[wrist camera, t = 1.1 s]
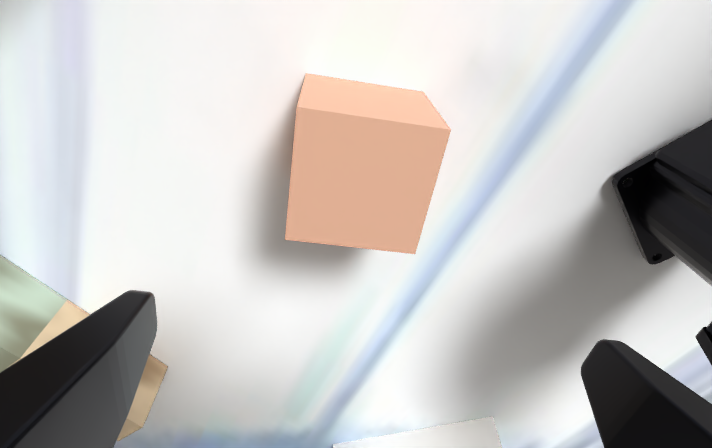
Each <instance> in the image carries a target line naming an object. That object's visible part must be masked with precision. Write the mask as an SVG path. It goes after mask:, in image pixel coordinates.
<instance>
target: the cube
mask: <svg viewBox="0 0 712 448" xmlns="http://www.w3.org/2000/svg"><path fill="white" fill-rule="evenodd" d="M450 131H451V129H450V128H449V126H448V125H447V124H446V122H445V121H444V119H443V118H442V117H441V115H440V114H439V113H438V111H437V110H436V109H435V107H434V106H433V104H432V103H431V102H430V100H429V99H428V98H427V96H426V95H425V93H424V92H421V91H415V90H408V89H402V88H396V87H389V86H383V85H377V84H370V83H364V82H358V81H351V80H345V79H339V78H333V77H326V76H320V75H314V74H307V73H306V75H305V79H304V82H303V86H302V90H301V93H300V97H299V100H298V104H297V109H296V120H295V131H294V142H293V154H292V165H291V176H290V188H289V199H288V210H287V221H286V233H285V240H292V241H301V242H310V243H319V244H328V245H337V246H346V247H356V248H365V249H374V250H383V251H392V252H401V253H410V254H415V252H416V249H417V245H418V242H419V239H420V235H421V232H422V228H423V225H424V221H425V218H426V214H427V211H428V207H429V204H430V201H431V197H432V194H433V190H434V187H435V183H436V180H437V176H438V173H439V169H440V166H441V162H442V159H443V156H444V152H445V149H446V145H447V142H448V138H449V135H450Z"/></svg>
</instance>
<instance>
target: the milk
mask: <svg viewBox="0 0 712 448" xmlns="http://www.w3.org/2000/svg"><path fill="white" fill-rule="evenodd" d="M333 448H502V445H501V442H500V439H499V435H498V432H497V429H496V425H495V422H494V419H493V416H491V417H485V418H480V419H474V420H468V421H463V422H457V423H451V424H446V425H440V426H434V427H429V428H423V429H417V430H412V431H406V432H400V433H395V434H389V435H383V436H378V437H372V438H366V439H361V440H355V441H349V442H343V443H338V444H333Z"/></svg>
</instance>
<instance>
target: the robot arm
mask: <svg viewBox="0 0 712 448" xmlns="http://www.w3.org/2000/svg"><path fill="white" fill-rule="evenodd" d="M627 178H628V180H627V181H626V182H625V183H623V181H624V180H625V179H627ZM622 183H623V184H622ZM612 184H613V187H614V189H615V192H616V194H617V197H618V199H619V201H620V204H621V206H622V208H623V211H624V213H625V216H626V218H627V220H628V223H629V225H630V227H631V230H632V232H633V235H634V237H635V239H636V242H637V244H638V246H639V249H640V251H641V254H642V256H643V258H644V259H645V260H646V261H647V262H648V263H649V264H658V263H661V262H663V261H665V260H667V259H669V258H671V257H673V256H676V257H678V258H679V259H680V260H681V261H682V262H684V263H685V264H686V265H687V266H688V267H690V268H691V269H692V270H693V271H694V272H695V273H697V274H698V275H699V276H700V277H701V278H703V279H704V280H705V281H706V282H707V283H709V284H710V285H711V286H712V120H711V121H709V122H708V123H706V124H704V125H702V126H700V127H699V128H697V129H695V130H693V131H691V132H690V133H688V134H686V135H684V136H683V137H681V138H679V139H677V140H675V141H674V142H672V143H670V144H668V145H666V146H665V147H663V148H661V149H659V150H657V151H656V152H654V153H652V154H650V155H648V156H647V157H645V158H643V159H641V160H639V161H638V162H636V163H634V164H632V165H631V166H629V167H627V168H625V169H623V170H622V171H620V172H618V173H617V174H616V175H615V176H614V178H613V180H612ZM156 332H157V317H156V306H155V297H154V295H153V294H152V293H151V292H145V291H136V290H130V291H127V292H125V293H123V294H122V295H120V296H119V297H117V298H116V299H114V300H112V301H111V302H109V303H108V304H106V305H105V306H103V307H101V308H100V309H98V310H97V311H95V312H94V313H92V314H91V315H89V316H87V317H86V318H84V319H83V320H81V321H80V322H78V323H77V324H75V325H73V326H72V327H70V328H69V329H67V330H66V331H64V332H62V333H61V334H59V335H58V336H56V337H55V338H53V339H52V340H50V341H48V342H47V343H45V344H44V345H42V346H41V347H39V348H37V349H36V350H34V351H33V352H31V353H30V354H28V355H27V356H25V357H23V358H22V359H20V360H19V361H17V362H16V363H14V364H12V365H11V366H9V367H8V368H6V369H5V370H3V371H2V372H0V448H113V447H114V445H115V442H116V440H117V438H118V436H119V434H120V432H121V430H122V428H123V425H124V423H125V421H126V419H127V416H128V414H129V411H130V408H131V406H132V403H133V400H134V397H135V394H136V391H137V388H138V386H139V383H140V380H141V377H142V374H143V371H144V368H145V365H146V362H147V359H148V357H149V354H150V351H151V348H152V345H153V342H154V339H155V336H156ZM695 337H696V339H697V341H698V343H699V344H700V346H701V348H702V349H703V351H704V353H705V355H706V356H707V358H708V360H709V361H710V363H711V365H712V322H711V323H710V324H709V325H708V326H707V327H703V328H702V329H701V331H700V332H699V333H698V334H697V335H696V336H695ZM581 376H582V380H583V383H584V386H585V389H586V392H587V395H588V399H589V402H590V405H591V408H592V411H593V414H594V418H595V421H596V424H597V427H598V430H599V433H600V436H601V439H602V442H603V445H604V448H712V404H711V403H709V402H708V401H706V400H705V399H703V398H702V397H701V396H699V395H698V394H696V393H695V392H693V391H692V390H691V389H689V388H688V387H686V386H685V385H683V384H682V383H681V382H679V381H678V380H676V379H675V378H673V377H672V376H670V375H669V374H668V373H666V372H665V371H663V370H662V369H660V368H659V367H658V366H656V365H655V364H653V363H652V362H650V361H649V360H648V359H646V358H645V357H643V356H642V355H640V354H639V353H638V352H636V351H635V350H633V349H632V348H630V347H629V346H628V345H626V344H625V343H623V342H620V341H615V340H606V339H603V340H600V341H598V342H597V343H596V345H595V346H594V348H593V349H592V350H591V352H590V353H589V355H588V356H587V358H586V359H585V361H584V362H583V364H582V367H581Z"/></svg>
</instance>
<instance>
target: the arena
mask: <svg viewBox="0 0 712 448" xmlns="http://www.w3.org/2000/svg"><path fill="white" fill-rule="evenodd" d="M89 315H90V314H88V313H87V312H85V311H84V310H82V309H81V308H79V307H78V306H76V305H75V304H73V303H72V302H70V301H69V300H67V299H66V298H64V297H63V296H61V295H60V294H58V293H57V292H55V291H54V290H52V289H51V288H49V287H48V286H46V285H45V284H43V283H41V282H40V281H38V280H37V279H35V278H34V277H32V276H31V275H29V274H28V273H26V272H25V271H23V270H22V269H20V268H19V267H17V266H16V265H14V264H13V263H11V262H10V261H8V260H7V259H5V258H4V257H2V256H1V255H0V372H2V371H3V370H5V369H6V368H8V367H9V366H11V365H12V364H14V363H16V362H17V361H19V360H20V359H22V358H23V357H25V356H27V355H28V354H30V353H31V352H33V351H34V350H36V349H37V348H39V347H41V346H42V345H44V344H45V343H47V342H48V341H50V340H52V339H53V338H55V337H56V336H58V335H59V334H61V333H62V332H64V331H66V330H67V329H69V328H70V327H72V326H73V325H75V324H77V323H78V322H80V321H81V320H83V319H84V318H86V317H87V316H89ZM167 368H168V366H166V365H165V364H163V363H162V362H160V361H159V360H157V359H156V358H154V357H153V356H151V355H150V354H149V357H148V359H147V362H146V365H145V368H144V371H143V374H142V377H141V380H140V383H139V386H138V388H137V391H136V394H135V397H134V400H133V403H132V406H131V408H130V411H129V414H128V416H127V419H126V421H125V423H124V425H123V428H122V430H121V432H120V434H119V436H118V438H117V441H120V440H121V439H123V438H125V437H127V436H128V435H130V434H132V433H134V432H135V431H137V430H139V429H141V428H142V427H143V426H144V423H145V421H146V418H147V416H148V414H149V411H150V409H151V406H152V404H153V402H154V399H155V397H156V394H157V392H158V390H159V387H160V385H161V382H162V380H163V378H164V375H165V373H166V370H167Z"/></svg>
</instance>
